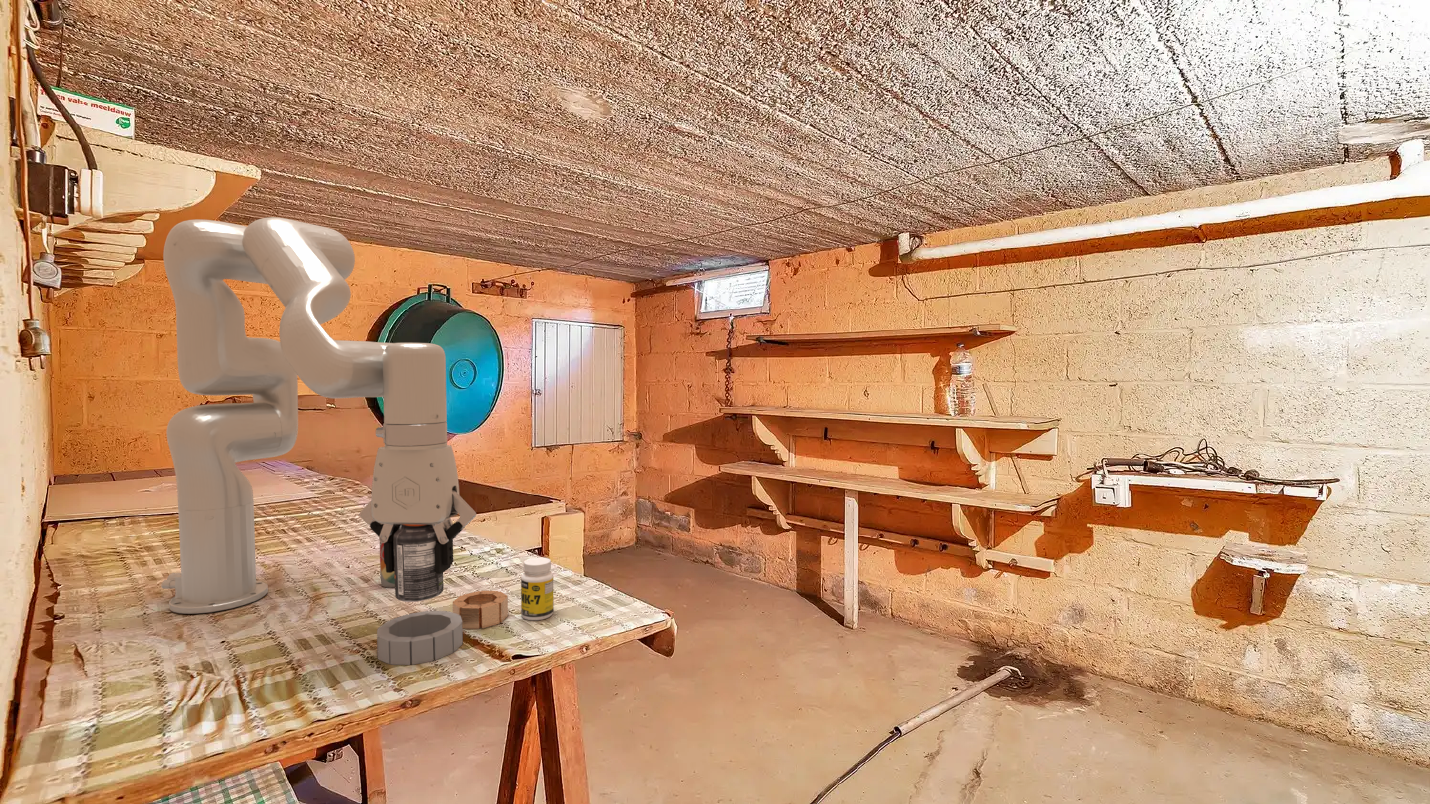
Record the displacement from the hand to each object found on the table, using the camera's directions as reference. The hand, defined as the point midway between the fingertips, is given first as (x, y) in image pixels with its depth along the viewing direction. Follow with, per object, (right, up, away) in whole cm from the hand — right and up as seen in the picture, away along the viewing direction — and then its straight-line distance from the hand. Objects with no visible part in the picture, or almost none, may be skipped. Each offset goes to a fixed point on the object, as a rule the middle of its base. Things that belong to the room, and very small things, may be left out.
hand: (419, 568), depth 86 cm
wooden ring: (+5, -10, +10) cm, 15 cm away
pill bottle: (0, -4, 0) cm, 4 cm away
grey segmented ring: (0, -11, +1) cm, 11 cm away
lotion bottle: (-16, -9, +26) cm, 32 cm away
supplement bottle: (+13, -10, +12) cm, 20 cm away
